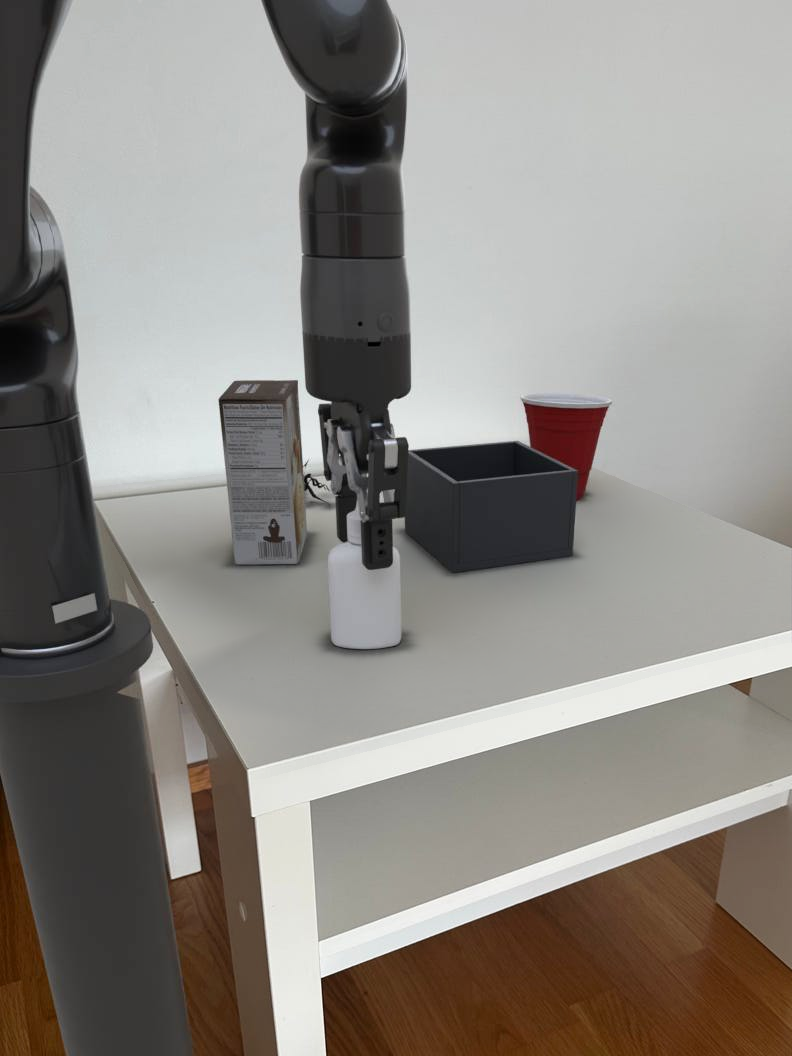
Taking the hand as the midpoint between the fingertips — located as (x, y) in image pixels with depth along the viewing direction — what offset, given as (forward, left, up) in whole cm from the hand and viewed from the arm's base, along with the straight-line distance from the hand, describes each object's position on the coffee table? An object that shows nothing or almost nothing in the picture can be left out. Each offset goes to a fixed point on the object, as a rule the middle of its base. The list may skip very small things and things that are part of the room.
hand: (364, 552), depth 72 cm
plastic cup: (+35, +31, -8) cm, 47 cm away
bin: (+19, +18, -8) cm, 27 cm away
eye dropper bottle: (0, 0, -8) cm, 8 cm away
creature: (+5, +39, -8) cm, 40 cm away
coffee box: (-2, +24, -8) cm, 25 cm away
